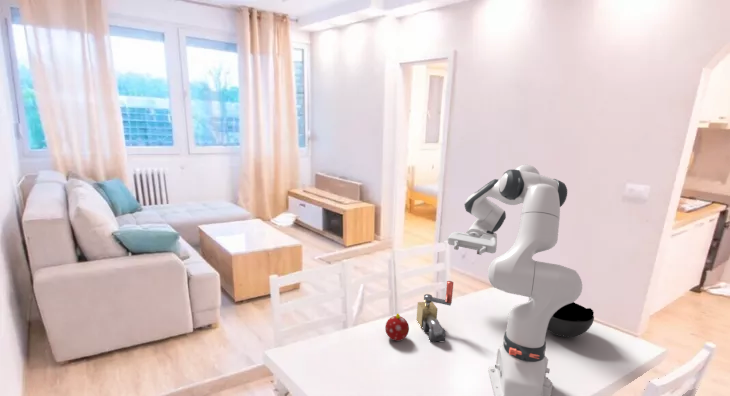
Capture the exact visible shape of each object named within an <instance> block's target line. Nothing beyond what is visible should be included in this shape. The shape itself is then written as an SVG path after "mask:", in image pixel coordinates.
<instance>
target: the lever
mask: <svg viewBox="0 0 730 396" xmlns="http://www.w3.org/2000/svg"><path fill="white" fill-rule="evenodd" d="M445 288H446V290H445V298H444V299H443V298H438V297H433V295H432V294H429V293H426V294H423V302H427V303H430V302H433V303H436V304H440V305H445V306H448V307H449V306H450V307H451V305H452V302H453V293H454V281H452V280H448V281H446V287H445Z"/></svg>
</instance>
